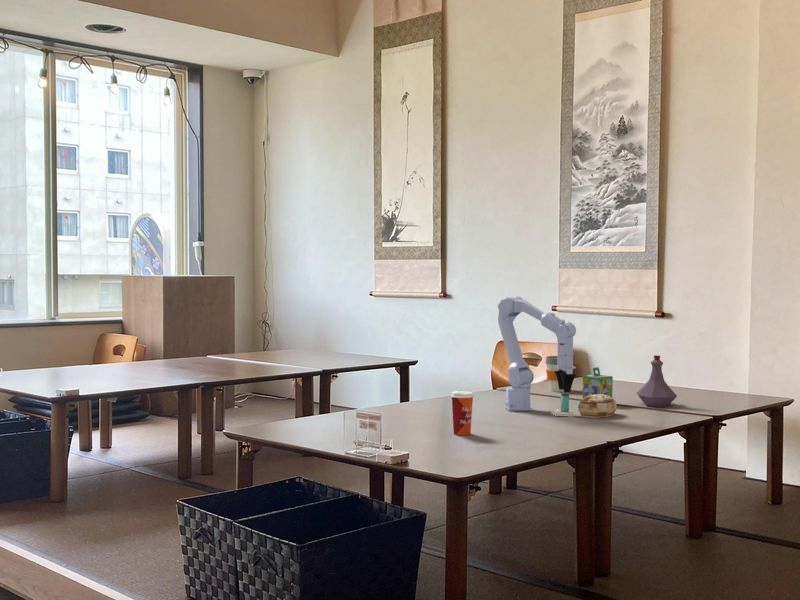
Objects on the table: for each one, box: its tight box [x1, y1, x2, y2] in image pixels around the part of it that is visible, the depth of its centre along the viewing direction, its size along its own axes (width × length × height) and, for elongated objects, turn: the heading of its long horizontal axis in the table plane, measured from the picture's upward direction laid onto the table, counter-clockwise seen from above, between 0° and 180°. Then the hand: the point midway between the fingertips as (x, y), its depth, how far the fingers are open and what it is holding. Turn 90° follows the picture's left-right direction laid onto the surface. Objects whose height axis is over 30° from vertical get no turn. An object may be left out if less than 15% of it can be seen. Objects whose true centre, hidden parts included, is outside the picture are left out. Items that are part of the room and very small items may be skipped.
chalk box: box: [582, 366, 614, 399], centre depth 372 cm, size 9×9×15 cm
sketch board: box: [549, 409, 575, 417], centre depth 345 cm, size 7×8×1 cm
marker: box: [560, 392, 570, 412], centre depth 345 cm, size 3×3×7 cm
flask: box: [635, 354, 678, 407], centre depth 369 cm, size 16×16×20 cm
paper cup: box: [450, 390, 474, 436], centre depth 306 cm, size 8×8×14 cm
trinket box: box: [577, 394, 618, 419], centre depth 345 cm, size 13×15×8 cm
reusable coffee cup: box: [545, 355, 575, 393], centre depth 410 cm, size 13×13×15 cm
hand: (564, 390), depth 345 cm, fingers open, 7 cm apart
